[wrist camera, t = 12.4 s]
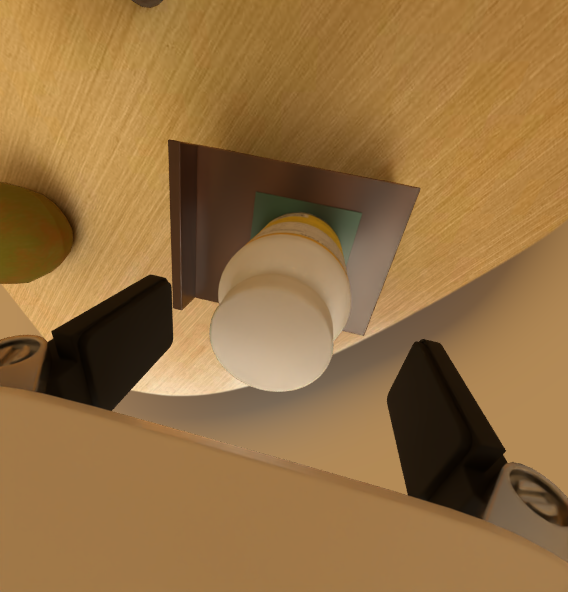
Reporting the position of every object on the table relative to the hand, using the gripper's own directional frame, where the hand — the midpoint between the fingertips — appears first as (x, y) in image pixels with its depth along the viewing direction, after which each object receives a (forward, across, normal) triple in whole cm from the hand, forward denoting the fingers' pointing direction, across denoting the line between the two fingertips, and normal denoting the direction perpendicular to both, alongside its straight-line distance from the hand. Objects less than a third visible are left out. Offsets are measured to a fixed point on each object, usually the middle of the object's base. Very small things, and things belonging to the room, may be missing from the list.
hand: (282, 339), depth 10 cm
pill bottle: (+11, +1, 0) cm, 11 cm away
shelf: (+18, +2, 0) cm, 19 cm away
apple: (+18, +30, +5) cm, 35 cm away
